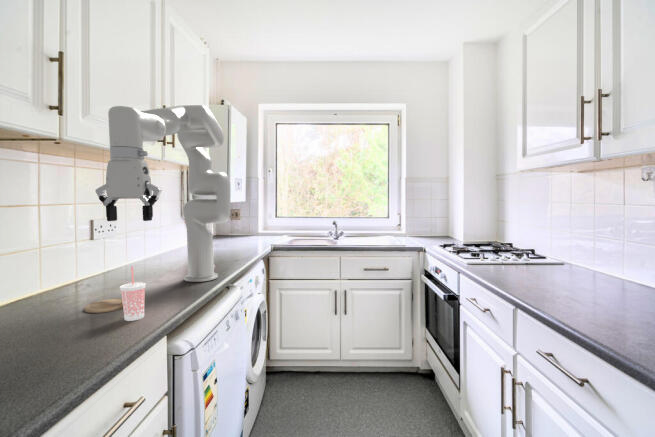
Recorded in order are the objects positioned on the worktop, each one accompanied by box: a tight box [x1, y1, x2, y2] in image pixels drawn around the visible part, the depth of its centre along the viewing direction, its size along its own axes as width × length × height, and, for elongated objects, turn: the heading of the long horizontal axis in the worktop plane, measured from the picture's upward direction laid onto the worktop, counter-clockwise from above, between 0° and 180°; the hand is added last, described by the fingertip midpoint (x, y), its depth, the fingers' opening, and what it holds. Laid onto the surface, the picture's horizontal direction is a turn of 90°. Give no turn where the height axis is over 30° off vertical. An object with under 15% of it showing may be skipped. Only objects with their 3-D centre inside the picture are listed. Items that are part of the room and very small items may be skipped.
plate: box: [84, 298, 123, 314], centre depth 102 cm, size 11×11×1 cm
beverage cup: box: [119, 266, 147, 322], centre depth 92 cm, size 6×6×14 cm
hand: (129, 220), depth 91 cm, fingers open, 9 cm apart
